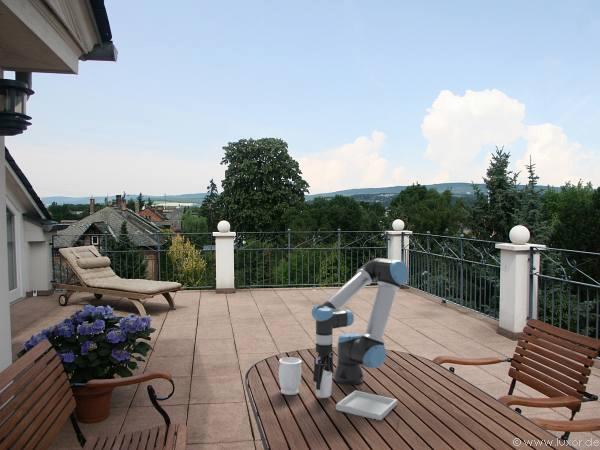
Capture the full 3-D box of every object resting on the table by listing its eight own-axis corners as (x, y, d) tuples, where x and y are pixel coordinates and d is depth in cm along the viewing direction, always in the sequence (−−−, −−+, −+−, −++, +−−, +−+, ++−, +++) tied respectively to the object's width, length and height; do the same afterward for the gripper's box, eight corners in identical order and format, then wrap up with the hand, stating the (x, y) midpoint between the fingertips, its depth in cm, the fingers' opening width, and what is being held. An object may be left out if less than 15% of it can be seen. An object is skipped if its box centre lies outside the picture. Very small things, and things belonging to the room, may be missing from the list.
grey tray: (355, 395, 219) (355, 390, 219) (397, 405, 209) (397, 399, 209) (336, 409, 202) (336, 403, 202) (380, 421, 192) (380, 415, 192)
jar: (303, 390, 224) (304, 358, 224) (296, 397, 214) (297, 364, 214) (282, 386, 228) (283, 355, 227) (274, 394, 218) (275, 361, 218)
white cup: (330, 399, 209) (331, 376, 208) (313, 397, 210) (313, 375, 210) (333, 392, 216) (333, 370, 216) (316, 390, 218) (316, 369, 218)
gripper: (327, 336, 223) (326, 384, 224) (305, 347, 206) (304, 399, 206) (341, 339, 220) (340, 387, 220) (320, 349, 202) (319, 402, 203)
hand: (323, 393), depth 213 cm, fingers closed on white cup, 8 cm apart
